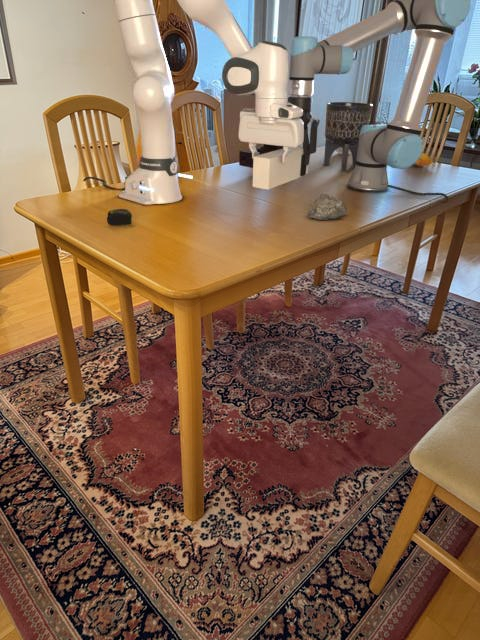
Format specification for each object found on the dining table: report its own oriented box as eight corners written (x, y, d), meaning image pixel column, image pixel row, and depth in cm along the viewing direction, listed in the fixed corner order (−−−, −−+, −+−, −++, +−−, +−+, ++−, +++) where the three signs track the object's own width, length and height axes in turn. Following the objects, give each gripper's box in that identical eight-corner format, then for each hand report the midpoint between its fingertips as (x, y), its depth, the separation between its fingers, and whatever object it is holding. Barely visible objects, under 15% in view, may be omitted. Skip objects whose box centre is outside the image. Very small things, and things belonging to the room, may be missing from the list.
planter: (313, 167, 208) (319, 103, 195) (331, 160, 222) (338, 101, 209) (353, 173, 199) (362, 107, 185) (369, 166, 213) (379, 104, 199)
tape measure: (107, 228, 130) (105, 215, 128) (109, 220, 136) (108, 208, 134) (131, 227, 131) (130, 214, 129) (133, 220, 137) (131, 207, 135)
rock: (331, 208, 151) (334, 189, 147) (352, 215, 145) (356, 195, 142) (304, 216, 143) (306, 195, 140) (325, 223, 137) (328, 202, 134)
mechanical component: (240, 120, 182) (283, 115, 202) (239, 174, 192) (280, 164, 212) (283, 126, 170) (325, 120, 190) (280, 183, 180) (320, 171, 200)
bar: (292, 172, 154) (294, 145, 150) (307, 174, 152) (309, 147, 147) (252, 186, 136) (253, 156, 132) (268, 189, 133) (269, 158, 129)
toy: (408, 159, 210) (402, 152, 223) (410, 173, 213) (404, 165, 225) (433, 152, 207) (426, 145, 219) (435, 165, 210) (428, 158, 222)
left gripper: (234, 107, 130) (234, 158, 137) (297, 112, 120) (294, 166, 127) (246, 106, 134) (245, 155, 141) (308, 110, 124) (304, 162, 131)
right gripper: (267, 94, 140) (264, 172, 152) (322, 98, 131) (314, 180, 143) (279, 93, 145) (275, 168, 157) (333, 97, 136) (324, 176, 148)
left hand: (269, 160), depth 134 cm, fingers open, 8 cm apart
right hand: (294, 173), depth 150 cm, fingers closed on bar, 6 cm apart
